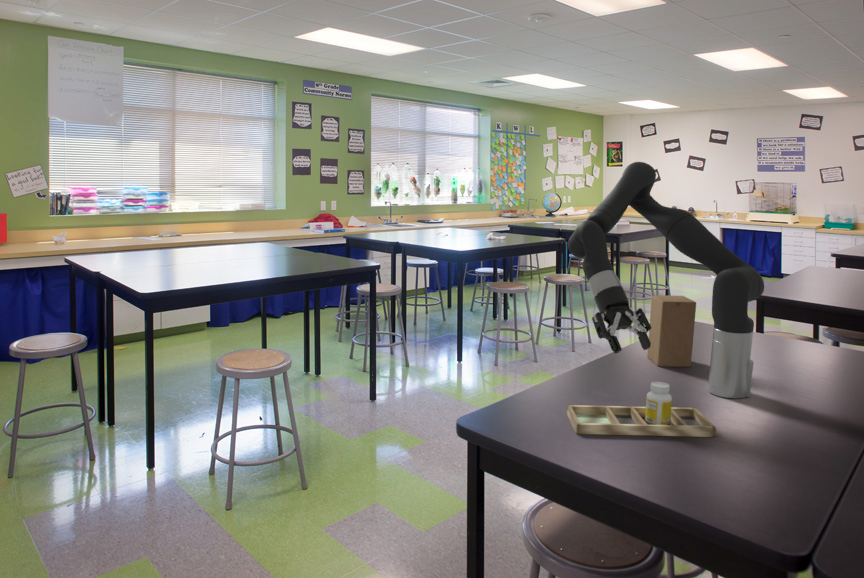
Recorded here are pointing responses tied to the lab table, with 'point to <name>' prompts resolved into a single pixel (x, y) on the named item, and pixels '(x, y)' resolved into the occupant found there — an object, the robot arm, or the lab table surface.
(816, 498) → the lab table surface
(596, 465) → the lab table surface
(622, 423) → the wooden compartment tray
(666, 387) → the supplement bottle
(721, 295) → the robot arm
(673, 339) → the wooden block
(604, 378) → the lab table surface
